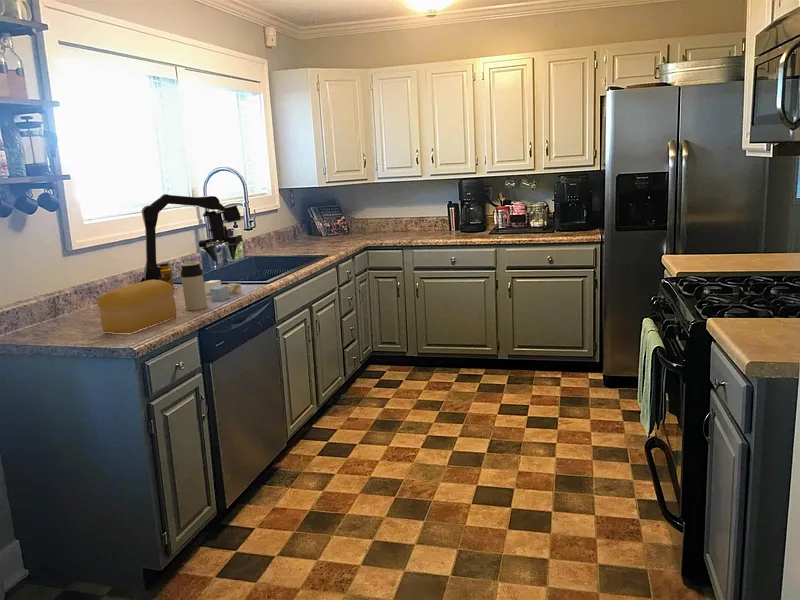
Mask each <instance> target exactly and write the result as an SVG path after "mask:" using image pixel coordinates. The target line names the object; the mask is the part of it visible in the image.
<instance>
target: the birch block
mask: <svg viewBox="0 0 800 600" xmlns="http://www.w3.org/2000/svg"><path fill="white" fill-rule="evenodd" d="M223 286H227V287H228V292H229V295H235V294H236V295H241V294H243V291H242V284H241V283H228V284H225V285H223Z"/></svg>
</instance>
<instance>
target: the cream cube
mask: <svg viewBox="0 0 800 600" xmlns="http://www.w3.org/2000/svg"><path fill="white" fill-rule="evenodd" d="M218 285H222V282H221V280H219V279H216V280H214V279H213V280H211V279H210V280H209V281H204V287H205V294H211V293H210V289H211V288H213V287H216V286H218Z"/></svg>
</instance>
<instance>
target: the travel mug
mask: <svg viewBox="0 0 800 600" xmlns="http://www.w3.org/2000/svg"><path fill="white" fill-rule="evenodd" d="M180 266H181V271H180V278H181V285H182V289H183V290H182V291H183V298H184V304H185V310H187V311H189V310H194V311H200V310H199V309H201V310H203V309H204V310H205V309H206V308H208V304H207V303H208V302H207V301H208V300H207V295H206V294H207V293H205V286H204V283H205V281H204V274H203V273H204V272H203V269H202V268H201V267H200V266H201V262H200V261H186V262H182V263H180Z"/></svg>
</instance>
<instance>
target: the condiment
mask: <svg viewBox="0 0 800 600" xmlns="http://www.w3.org/2000/svg"><path fill="white" fill-rule="evenodd" d="M158 265H159V266H160V267H161V276H162V277H160V280H161V281H165V282H167V283H169V284H171V285H172V287H175V286H174V282H173V275H172V269H171V268H170V263H169V262H160V263H157V266H158ZM176 288H177V289H178V287H175V288H174V290H175V289H176Z"/></svg>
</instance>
